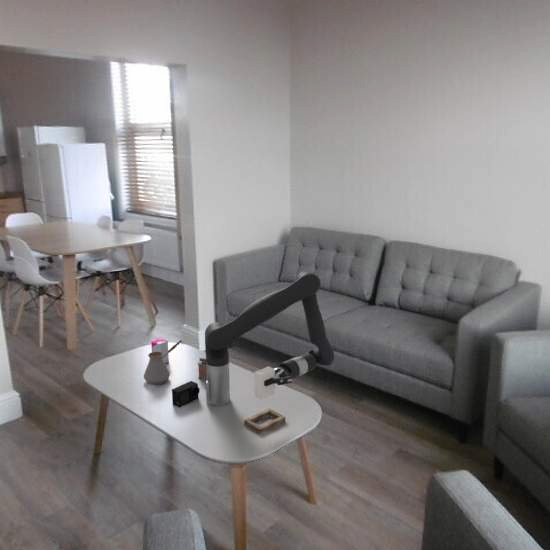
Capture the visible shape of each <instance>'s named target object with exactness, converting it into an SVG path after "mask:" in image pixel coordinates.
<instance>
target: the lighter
mask: <svg viewBox="0 0 550 550" xmlns="http://www.w3.org/2000/svg"><path fill="white" fill-rule="evenodd" d="M198 359H199V362H198V363H197V365H198V380H201V381H207V367H206V357H199V358H198Z"/></svg>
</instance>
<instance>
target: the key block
mask: <svg viewBox="0 0 550 550" xmlns="http://www.w3.org/2000/svg"><path fill="white" fill-rule="evenodd" d="M267 366H268V367H267ZM267 366H266V367H264V368H262V369H259V370H256V371H254V397H255V398H257V399H259V400H264V399H266V398H268V397H270V396H273V395H275V394H276V384H271V385H269V386H264V381H265V380H267V379H270V378H273V377H274V376H275V369H274V367H271V366H270V365H267ZM269 366H270V367H269Z"/></svg>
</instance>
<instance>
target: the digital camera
mask: <svg viewBox="0 0 550 550" xmlns="http://www.w3.org/2000/svg"><path fill="white" fill-rule="evenodd" d="M200 391H201V390H200V387H199V384H198V383H197V382H195V381H193V380H190V381H187V382H185V383H183V384H181V385H179V386H177V387H175V388H172V389H171V397H172V398H171V399H172V400H171V401H172V406H174V407H177V408H182V407H184V406H187V405H188V404H190V403H192V402H194V401H197V400H199V393H200Z"/></svg>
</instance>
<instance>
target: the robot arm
mask: <svg viewBox="0 0 550 550" xmlns="http://www.w3.org/2000/svg"><path fill="white" fill-rule="evenodd" d="M320 288H321V280H320V278H319V276H318V275H316V274H315V273H313V272H311V271H308V270H303V271H300V272H299V273H298V274H297V275H296V277H295V281H294V282H292V283H290V284H289V285H288V286H286V287H284V288H282V289H279V290H277V291H274V292H271V293H268V294H266V295H264V296H261V297H260V298H259V299H256V300H255V301H253V302H251V303H250V304H248V305H247V306H246V308H245V309H243V311H241V313H239V315H237V316H236V317H235V318H234V319H233V320H231V321H230V322H228V323H225V324H224V323H221V322H219V321H218V322H217V321H216V322H215V321H214V322H211V323H210V324H208V326H206V328H205V331H204V345H205V348H204V349H205V351H204V352H205V359H206V367H207V381H206V382H205V391H206V392H205V393H206V394H205V395H206V404H207V405H208V404H209V405H211V406H217V407H218V406H221V407H222V406H225V405H227V404H229V403H230V400H231V393H230V392H231V387H230V385H231V384H230V381H231V380H230V354H229V345H231V344H232V343H234V341H237V340H238V339H239V338H240V337H242V336H243V335H245V334H246V333H248V332H250V331H253V330H254V329H255V328H257V327H259V326H260V325H263V324H264V323H266V322H268V321H269V320H271V319H273V318H274V317H276V316H277V315H279V314H281V313H282V312H284V311H286V309H288V308H289V307H290V306H293V305H295V304H297V302H299V301H301V303H302V306H303V311H304V315H305V322H306V327H307V328H306V329H307V332H308V338H309V342H310V343H311V344H312V345H315V346H316V347H314V348H311V349H309V350H307V352H306V353H305V354H302V355H299V356H296V357H292V358H290V359H287V360H285V361H283V362H281V363H280V364H279V365H278V366H276V367H273V369H275V376H274V377H273V378H270V379H267V380H265V381H264V386H269V385H271V384H275V385H277V386H282V385H288V384H292V383H293V380H295V379H296V378H299V377H301V376H304V374H306V373H309V372H311V371H313V370H314V369H316V367H317V366H318V365H319V366H326V367H329V366H331V365H333V363H334V361H335V353H334V350H333V347H332V345H331V343H330V341H329V339H328V337H327V331H326V327H325V323H324V319H323V316H322V313H321V309H320V307H319V303H318V298H317V292H318V291H319V289H320ZM268 366H269V367H271V365H267V366H266V367H268Z"/></svg>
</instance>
